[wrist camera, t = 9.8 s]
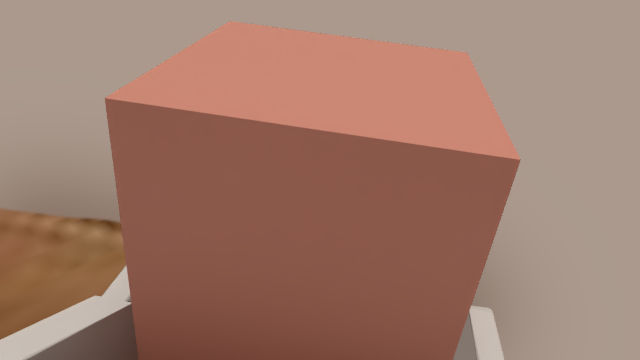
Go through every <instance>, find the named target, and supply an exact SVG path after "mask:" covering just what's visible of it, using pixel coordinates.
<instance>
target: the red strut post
mask: <svg viewBox="0 0 640 360" xmlns="http://www.w3.org/2000/svg"><path fill="white" fill-rule="evenodd" d="M105 103H106V111H107V119H108V126H109V134H110V142H111V149H112V157H113V164H114V173H115V181H116V188H117V196H118V204H119V212H120V219H121V227H122V235H123V243H124V250H125V258H126V266H127V274H128V282H129V289H130V297H131V305H132V313H133V320H134V328H135V336H136V344H137V351H138V359H139V360H453V358H454V355H455V352H456V349H457V346H458V343H459V340H460V337H461V334H462V331H463V328H464V325H465V322H466V319H467V316H468V313H469V310H470V307H471V305H472V302H473V298H474V296H475V293H476V289H477V287H478V284H479V281H480V278H481V275H482V272H483V269H484V266H485V263H486V260H487V257H488V254H489V251H490V249H491V246H492V243H493V240H494V237H495V234H496V231H497V228H498V225H499V222H500V219H501V216H502V213H503V210H504V207H505V204H506V201H507V198H508V196H509V193H510V190H511V187H512V183H513V181H514V178H515V175H516V172H517V169H518V166H519V163H520V158H519V156H518V154H517V152H516V150H515V148H514V146H513V144H512V142H511V140H510V138H509V136H508V134H507V132H506V130H505V128H504V126H503V124H502V122H501V120H500V118H499V116H498V114H497V112H496V110H495V108H494V105H493V103H492V101H491V100H490V97H489V95H488V93H487V91H486V89H485V88H484V86H483V83H482V81H481V79H480V77H479V76H478V73H477V72H476V70H475V68H474V65H473V63H472V61H471V59H470V57H469V55H468V54H467V53H466V52H458V51H450V50H442V49H435V48H428V47H420V46H413V45H404V44H398V43H389V42H382V41H375V40H368V39H360V38H352V37H344V36H337V35H329V34H322V33H315V32H307V31H300V30H292V29H284V28H277V27H269V26H262V25H254V24H246V23H239V22H231V21H230V22H228V23H226V24H225V25H223V26H222V27H220V28H218V29H217V30H215V31H213V32H212V33H210V34H209V35H207V36H205V37H204V38H202V39H200V40H199V41H197V42H195V43H194V44H192V45H191V46H189V47H187V48H186V49H184V50H182V51H181V52H179V53H178V54H176V55H174V56H173V57H171V58H170V59H168V60H166V61H165V62H163V63H161V64H160V65H158V66H156V67H155V68H153V69H152V70H150V71H148V72H147V73H145V74H143V75H142V76H140V77H138V78H137V79H135V80H134V81H132V82H130V83H129V84H127V85H125V86H124V87H122V88H121V89H119V90H118V91H116V92H114V93H112V94H111V95H109V96H108V97H106V98H105Z"/></svg>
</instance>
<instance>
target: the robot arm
mask: <svg viewBox="0 0 640 360" xmlns="http://www.w3.org/2000/svg"><path fill="white" fill-rule="evenodd" d="M0 360H139V359H138V351H137V344H136V336H135V328H134V320H133V313H132V305H131V297H130V289H129V282H128V274H127V266H125V267H124V269H123V270H122V271H121V272H120V274H119V275H118V276H117V278H116V279H115V280H114V281H113V283H112V284H111V285H110V286H109V288H108V289H107V290H106V291H105V293H104V294H103V295H102V297H99V296H93V297H91V298H89V299H87V300H85V301H82V302H80V303H78V304H76V305H74V306H72V307H70V308H67V309H65V310H63V311H61V312H59V313H57V314H55V315H53V316H50V317H48V318H46V319H44V320H42V321H40V322H38V323H35V324H33V325H31V326H29V327H27V328H25V329H23V330H20V331H18V332H16V333H14V334H12V335H10V336H8V337H5V338H3V339H1V340H0ZM453 360H504V355H503V352H502V348H501V343H500V339H499V335H498V331H497V327H496V323H495V319H494V315H493V312H492V310H491V309H490V308H484V307H477V306H471V307H470V310H469V313H468V316H467V319H466V322H465V325H464V328H463V331H462V334H461V337H460V340H459V343H458V346H457V349H456V352H455V355H454V358H453Z"/></svg>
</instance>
